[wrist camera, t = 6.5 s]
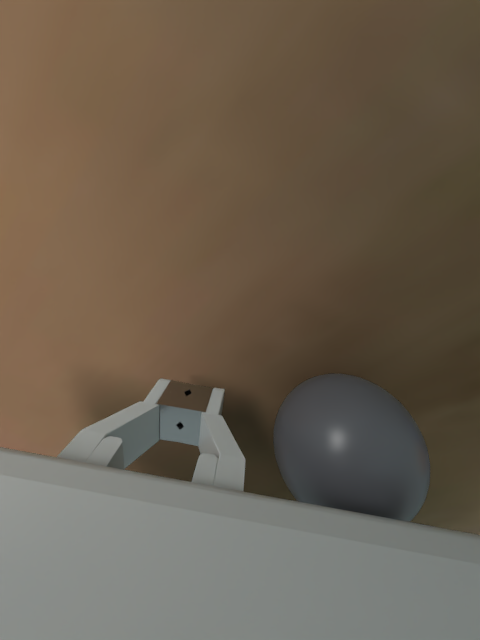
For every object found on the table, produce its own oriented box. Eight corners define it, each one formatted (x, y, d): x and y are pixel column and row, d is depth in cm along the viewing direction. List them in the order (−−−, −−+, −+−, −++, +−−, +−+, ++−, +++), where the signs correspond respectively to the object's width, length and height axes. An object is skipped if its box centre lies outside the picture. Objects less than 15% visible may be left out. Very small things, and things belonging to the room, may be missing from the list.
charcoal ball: (490, 626, 5) (454, 456, 9) (363, 402, 6) (384, 338, 10) (292, 565, 9) (332, 461, 13) (225, 429, 9) (284, 373, 13)
